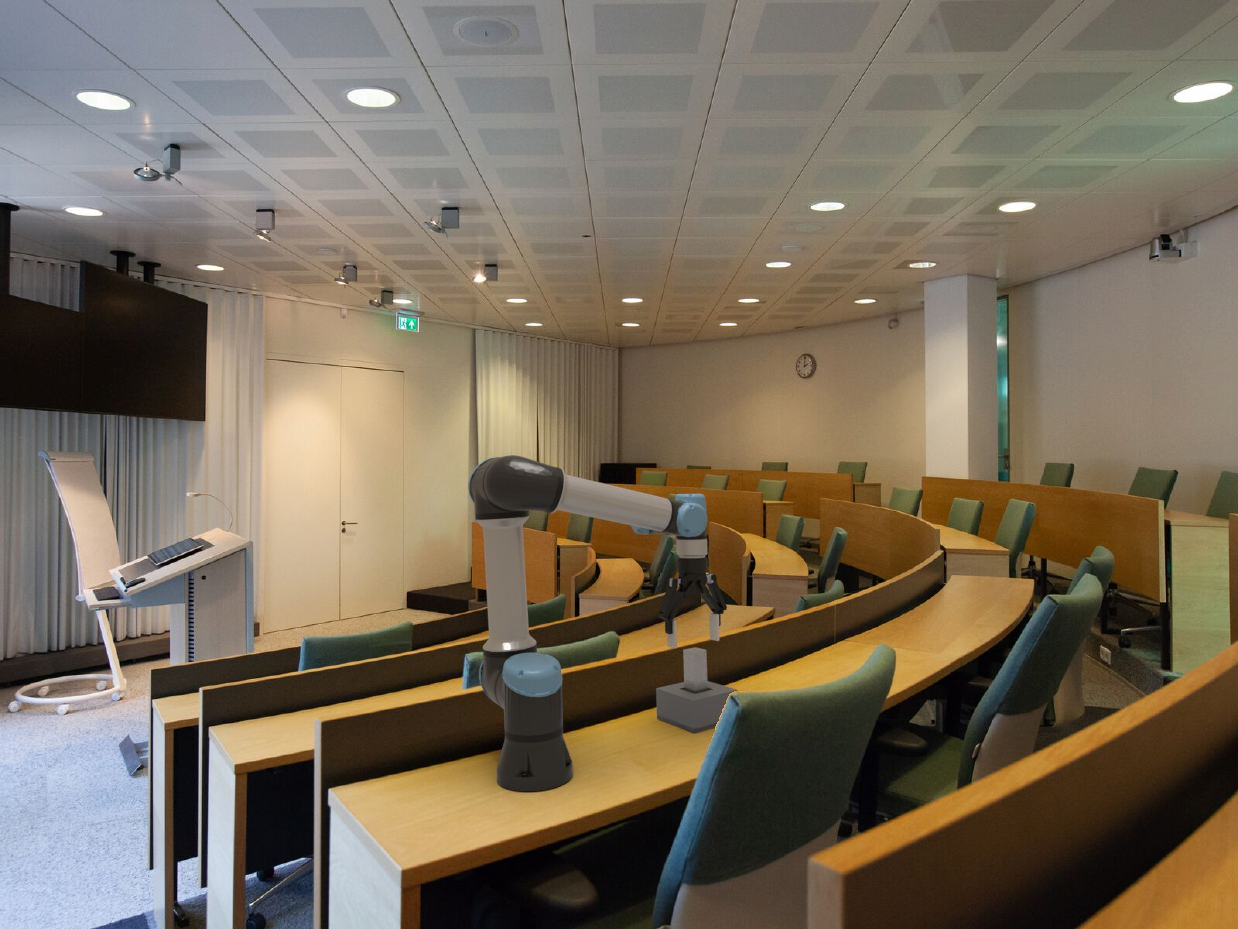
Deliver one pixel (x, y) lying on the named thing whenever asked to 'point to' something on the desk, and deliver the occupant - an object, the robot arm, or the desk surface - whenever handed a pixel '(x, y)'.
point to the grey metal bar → (695, 670)
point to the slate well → (691, 706)
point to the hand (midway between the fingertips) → (693, 643)
